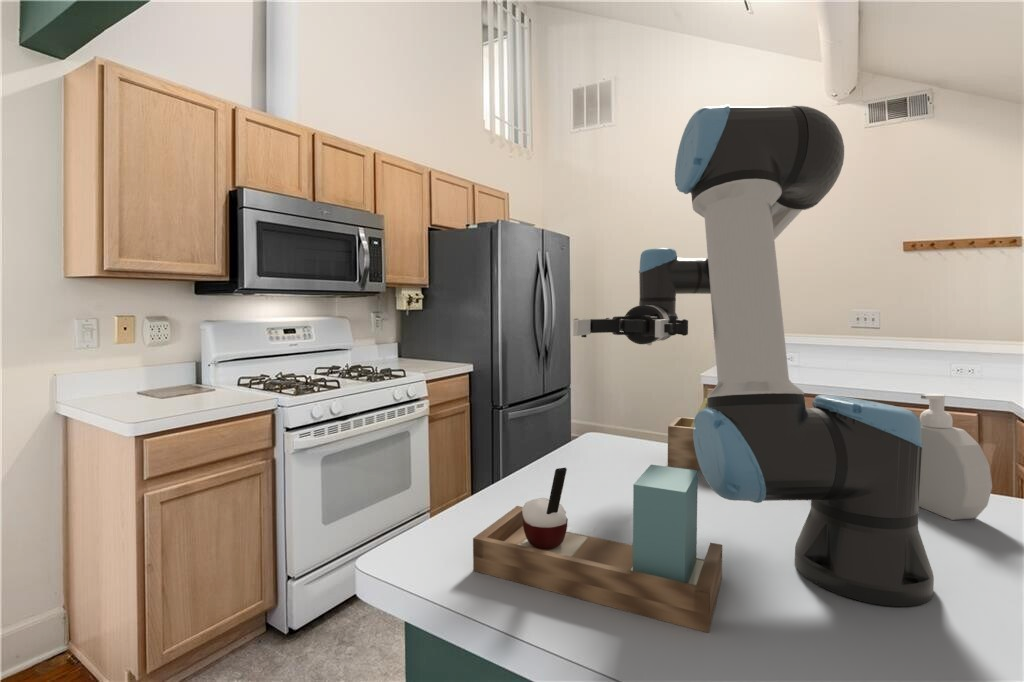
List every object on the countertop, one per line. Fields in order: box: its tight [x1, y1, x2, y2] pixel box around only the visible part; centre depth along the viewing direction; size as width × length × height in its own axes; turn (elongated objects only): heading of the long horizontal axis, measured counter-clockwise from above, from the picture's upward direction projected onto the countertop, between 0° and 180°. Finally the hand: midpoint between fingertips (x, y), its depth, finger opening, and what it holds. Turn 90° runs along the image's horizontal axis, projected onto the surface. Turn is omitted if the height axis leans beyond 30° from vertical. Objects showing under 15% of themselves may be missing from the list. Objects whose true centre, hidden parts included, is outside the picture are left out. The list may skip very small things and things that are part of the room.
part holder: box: [667, 416, 701, 471], centre depth 116 cm, size 26×11×9 cm, turn 62°
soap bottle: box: [919, 393, 993, 521], centre depth 92 cm, size 16×5×20 cm, turn 8°
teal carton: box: [632, 464, 699, 583], centre depth 66 cm, size 6×9×12 cm
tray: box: [472, 505, 723, 634], centre depth 70 cm, size 30×13×4 cm, turn 62°
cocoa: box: [521, 467, 569, 549], centre depth 73 cm, size 10×6×12 cm, turn 1°
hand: (614, 328), depth 85 cm, fingers open, 13 cm apart
